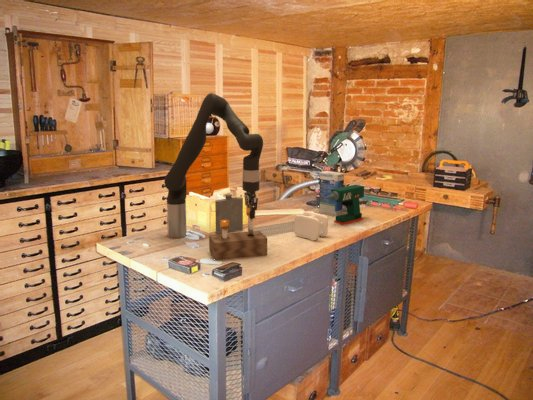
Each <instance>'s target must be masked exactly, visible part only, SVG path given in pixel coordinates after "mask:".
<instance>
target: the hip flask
mask: <svg viewBox="0 0 533 400" xmlns="http://www.w3.org/2000/svg"><path fill="white" fill-rule="evenodd" d="M224 197H225V198H222V199H218V200H215V202H214V205H215V234H222V228H220V220H224V219H226V220H229V228H228V233H234V232H240V231H241V232H242V231H243V230H244V227H243V226H244V215H243V214H244V210H243V209H244V205H243V204H244V200H243V199H244V198H243V197H242V196H241V197H239V196H238V197H236V196H235V197H234V196H233V195H232V194H231V193H225V195H224Z"/></svg>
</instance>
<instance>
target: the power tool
mask: <svg viewBox="0 0 533 400" xmlns="http://www.w3.org/2000/svg"><path fill="white" fill-rule="evenodd" d="M364 197H365V186H364V185H360V184H352V185H347V186H344V187H340V188H335V189H331V193H330V194H329V196H327V197H325V198H326V199H330V200H331V201H335V202H339V203H340V202H342V205H343V207H344V206H345V208H346V213H342V215H338V216H336V217H335V219H334V220H333V223H334V224H338V225H341V226H345V225H348V224H352V223H355V222H359V221H363V220H364V218H363V216H362V215H363V213H362V212H361V206H360V199H362V198H364Z"/></svg>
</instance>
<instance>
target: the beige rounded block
mask: <svg viewBox="0 0 533 400" xmlns="http://www.w3.org/2000/svg"><path fill="white" fill-rule="evenodd" d="M294 221H295V225H293V226H294V227H293V228H294V229H293V230H294V235H295V236H297V237H298V238H302V239H308V240H309V241H312V240H313V241H316V240H318V239H319V238H321V237H322V238H323V237H325V236H328V233H329V232H328V231H329V230H328V229H329V228H328V227H329V217H328V215H325V214H321V213H316V212H312V211H305V212H303V213H302V214H297V215H295V216H294ZM320 236H321V237H320Z"/></svg>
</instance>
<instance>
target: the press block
mask: <svg viewBox="0 0 533 400" xmlns="http://www.w3.org/2000/svg"><path fill="white" fill-rule="evenodd" d="M262 233H263V232H262ZM262 233H261V232H260V231H253V236H251V237H248V231H241V232H240V231H236V232H228V239H222V234H216V233H215V234H208V244H209V247H208V248H209V253H210V255H211V256H212V258H213V260H214V259H215V260H216V261H223V260H233V259H242V258H243V259H244V258H252V257H253V258H254V257H263V256H268V236H265V234H262ZM215 260H214V261H215Z"/></svg>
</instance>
